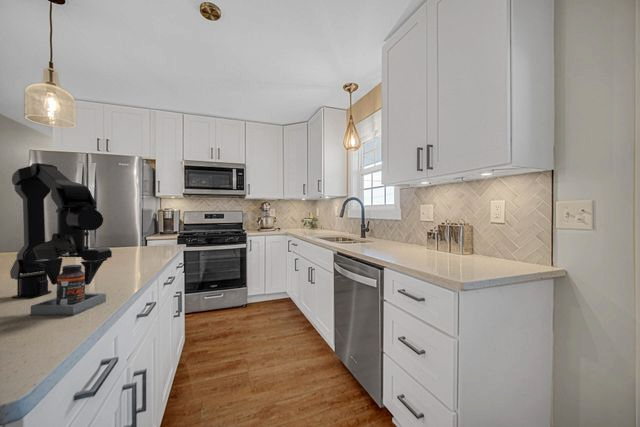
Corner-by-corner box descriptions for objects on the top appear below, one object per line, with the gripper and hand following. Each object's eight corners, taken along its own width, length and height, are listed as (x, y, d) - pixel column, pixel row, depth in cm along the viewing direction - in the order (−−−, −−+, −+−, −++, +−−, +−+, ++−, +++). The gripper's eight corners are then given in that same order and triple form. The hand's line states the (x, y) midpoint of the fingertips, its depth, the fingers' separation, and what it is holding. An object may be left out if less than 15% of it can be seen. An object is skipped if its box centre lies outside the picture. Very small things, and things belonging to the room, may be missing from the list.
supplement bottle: (67, 310, 73) (68, 268, 73) (50, 308, 74) (51, 266, 74) (90, 303, 78) (91, 264, 79) (74, 301, 80) (75, 263, 80)
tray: (30, 315, 70) (30, 305, 70) (69, 301, 81) (69, 293, 81) (73, 315, 71) (73, 306, 71) (105, 301, 82) (105, 293, 82)
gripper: (4, 230, 68) (4, 292, 68) (80, 231, 68) (79, 293, 68) (48, 228, 79) (48, 281, 79) (113, 228, 79) (112, 281, 79)
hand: (71, 284), depth 76 cm, fingers open, 9 cm apart
